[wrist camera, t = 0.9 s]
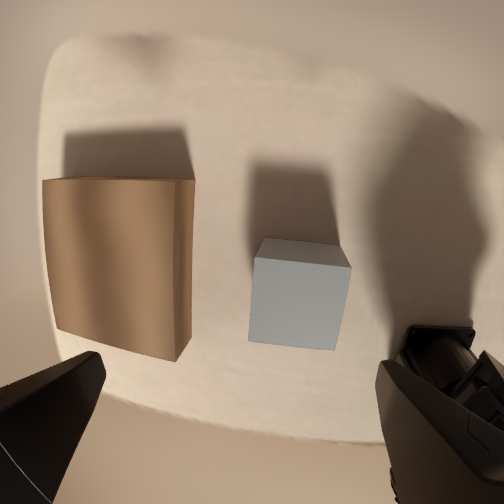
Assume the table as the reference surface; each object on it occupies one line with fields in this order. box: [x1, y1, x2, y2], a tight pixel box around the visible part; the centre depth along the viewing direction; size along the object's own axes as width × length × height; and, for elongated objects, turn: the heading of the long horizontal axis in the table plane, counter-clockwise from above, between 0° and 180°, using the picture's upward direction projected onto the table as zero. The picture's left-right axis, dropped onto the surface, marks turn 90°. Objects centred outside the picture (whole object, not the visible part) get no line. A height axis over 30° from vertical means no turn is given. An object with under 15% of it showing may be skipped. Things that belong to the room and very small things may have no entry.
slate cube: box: [248, 237, 351, 351], centre depth 19 cm, size 5×5×5 cm
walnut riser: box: [42, 177, 195, 362], centre depth 21 cm, size 11×12×4 cm
